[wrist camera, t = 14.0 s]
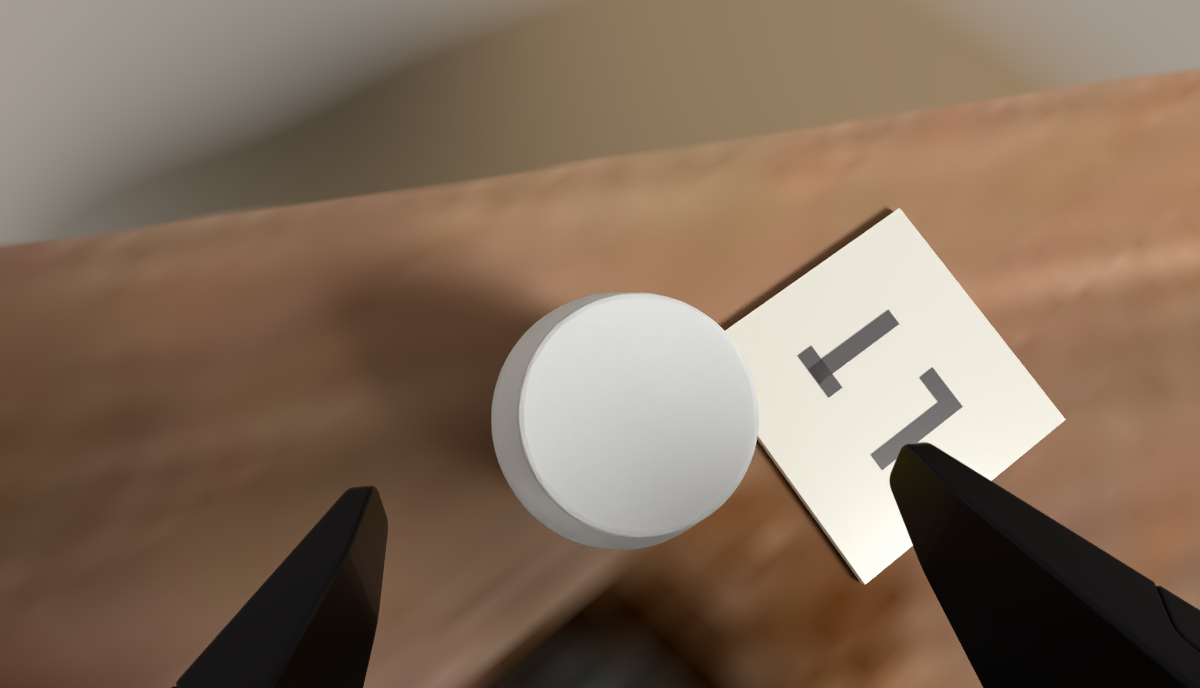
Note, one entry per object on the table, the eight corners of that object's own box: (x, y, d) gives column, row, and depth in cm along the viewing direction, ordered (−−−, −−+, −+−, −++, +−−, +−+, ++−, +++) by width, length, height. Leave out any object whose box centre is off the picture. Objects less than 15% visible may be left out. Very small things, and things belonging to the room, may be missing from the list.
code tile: (1058, 420, 20) (1066, 419, 20) (860, 582, 19) (865, 585, 18) (894, 211, 21) (899, 207, 21) (694, 352, 20) (696, 350, 19)
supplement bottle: (553, 541, 18) (548, 649, 9) (486, 383, 19) (413, 321, 9) (707, 468, 19) (859, 494, 9) (637, 318, 20) (713, 198, 10)
